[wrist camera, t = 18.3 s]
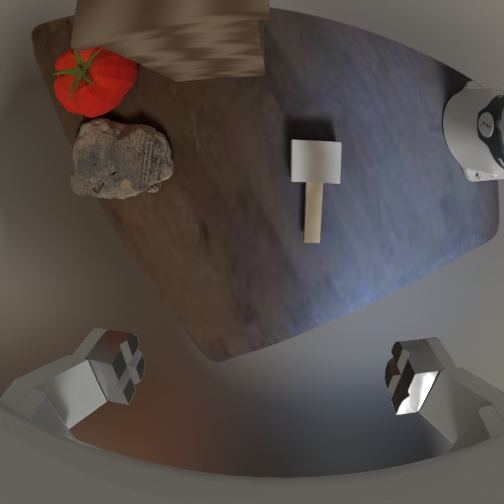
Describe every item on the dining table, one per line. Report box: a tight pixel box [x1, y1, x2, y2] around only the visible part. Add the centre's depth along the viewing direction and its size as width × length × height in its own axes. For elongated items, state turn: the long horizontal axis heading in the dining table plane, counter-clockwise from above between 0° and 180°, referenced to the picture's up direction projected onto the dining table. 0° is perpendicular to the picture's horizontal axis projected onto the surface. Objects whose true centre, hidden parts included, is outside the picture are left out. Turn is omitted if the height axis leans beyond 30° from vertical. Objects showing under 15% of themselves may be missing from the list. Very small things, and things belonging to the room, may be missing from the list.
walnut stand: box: [71, 0, 270, 82], centre depth 26 cm, size 16×7×26 cm, turn 91°
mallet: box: [290, 140, 341, 243], centre depth 43 cm, size 7×16×4 cm, turn 0°
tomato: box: [52, 46, 138, 118], centre depth 34 cm, size 13×14×12 cm
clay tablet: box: [70, 118, 174, 199], centre depth 43 cm, size 14×5×20 cm
